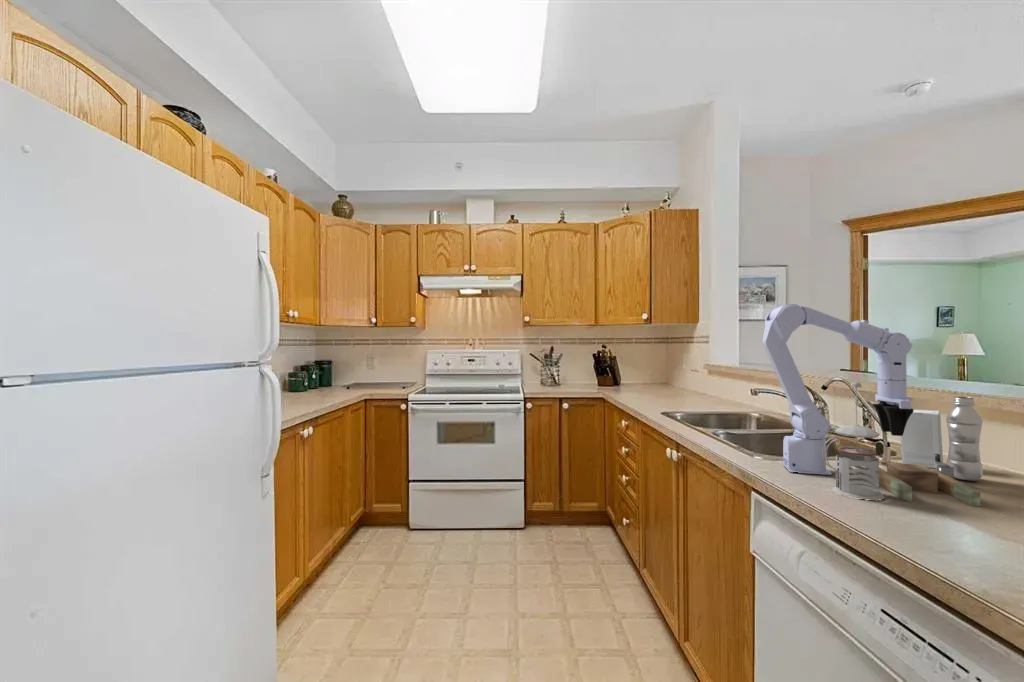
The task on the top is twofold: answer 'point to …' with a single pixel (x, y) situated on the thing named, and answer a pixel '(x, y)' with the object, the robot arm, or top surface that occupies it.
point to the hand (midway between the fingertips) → (892, 433)
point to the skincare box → (922, 438)
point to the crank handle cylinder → (944, 467)
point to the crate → (915, 476)
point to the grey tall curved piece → (856, 463)
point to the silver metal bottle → (964, 439)
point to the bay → (944, 484)
